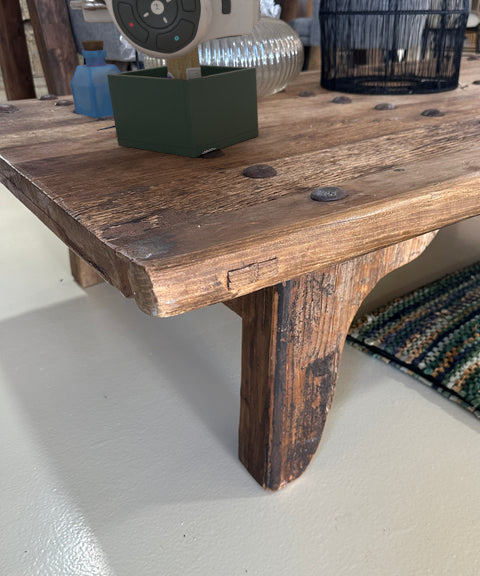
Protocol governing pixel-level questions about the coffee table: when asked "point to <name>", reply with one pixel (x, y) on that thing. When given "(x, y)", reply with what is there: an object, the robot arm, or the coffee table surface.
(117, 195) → the coffee table surface
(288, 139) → the coffee table surface
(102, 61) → the perfume bottle
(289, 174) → the coffee table surface
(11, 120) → the coffee table surface
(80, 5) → the robot arm
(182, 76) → the sprinkles bottle
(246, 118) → the square planter pot
